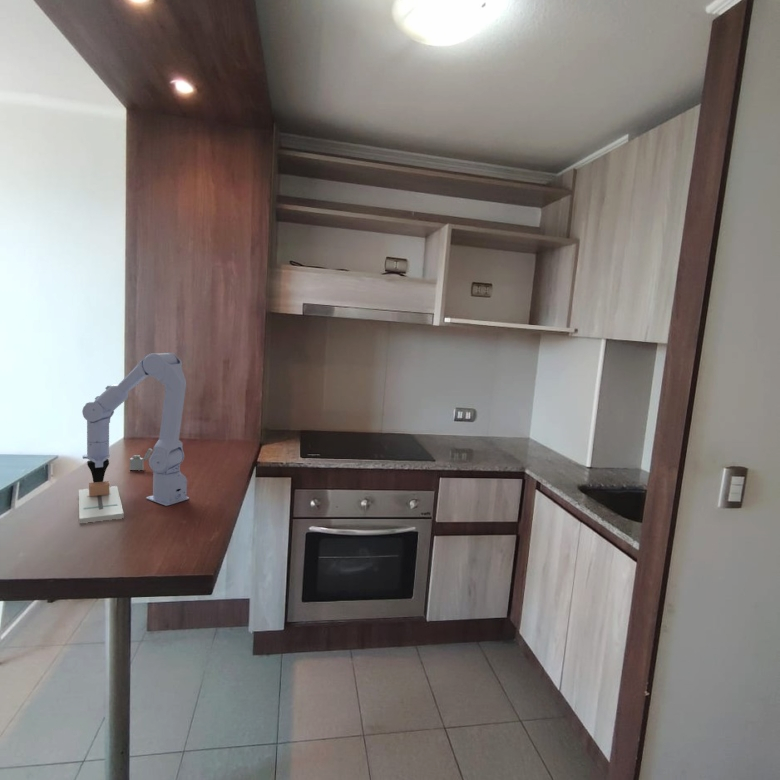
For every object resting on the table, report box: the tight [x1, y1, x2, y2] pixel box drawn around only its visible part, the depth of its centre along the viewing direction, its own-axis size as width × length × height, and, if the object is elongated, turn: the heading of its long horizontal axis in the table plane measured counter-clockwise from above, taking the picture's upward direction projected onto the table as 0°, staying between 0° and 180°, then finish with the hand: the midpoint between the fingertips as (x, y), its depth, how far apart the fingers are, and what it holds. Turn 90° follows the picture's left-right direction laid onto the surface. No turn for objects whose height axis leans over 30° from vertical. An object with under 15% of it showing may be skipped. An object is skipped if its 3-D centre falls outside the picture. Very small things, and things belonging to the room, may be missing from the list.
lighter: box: [129, 447, 153, 471], centre depth 171 cm, size 7×2×8 cm, turn 104°
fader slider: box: [88, 480, 110, 496], centre depth 141 cm, size 3×5×3 cm, turn 123°
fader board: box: [78, 485, 125, 524], centre depth 138 cm, size 24×10×2 cm, turn 33°
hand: (98, 484), depth 148 cm, fingers closed
